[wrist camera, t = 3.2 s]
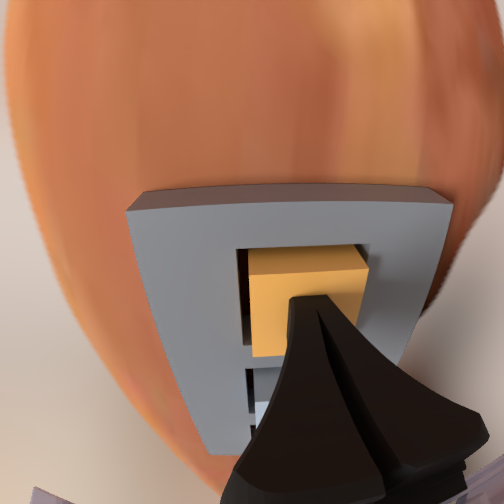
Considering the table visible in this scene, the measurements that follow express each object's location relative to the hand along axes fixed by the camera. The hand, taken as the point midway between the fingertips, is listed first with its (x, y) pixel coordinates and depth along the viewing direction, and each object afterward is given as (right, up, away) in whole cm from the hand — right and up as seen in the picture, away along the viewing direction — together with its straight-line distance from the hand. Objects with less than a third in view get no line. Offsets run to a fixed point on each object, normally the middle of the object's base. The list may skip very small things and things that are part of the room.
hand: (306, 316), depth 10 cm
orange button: (0, +1, +2) cm, 2 cm away
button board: (0, -4, +6) cm, 7 cm away
